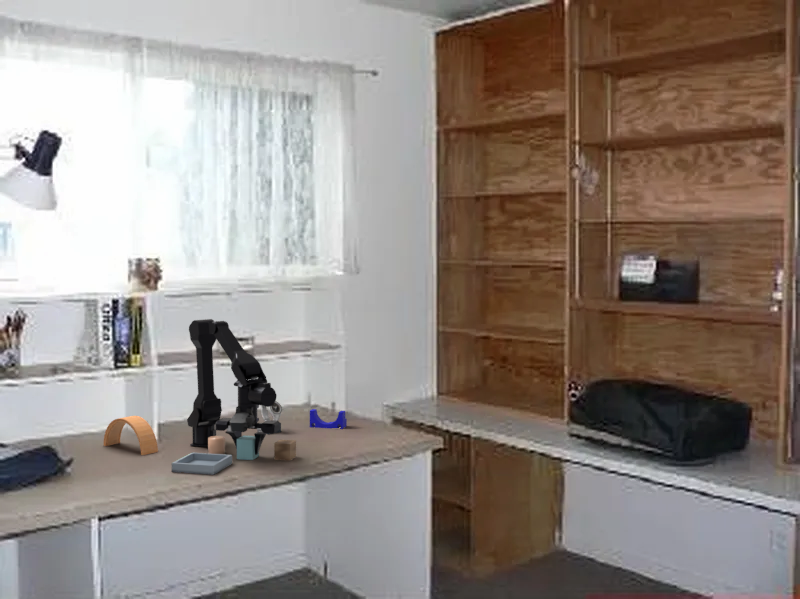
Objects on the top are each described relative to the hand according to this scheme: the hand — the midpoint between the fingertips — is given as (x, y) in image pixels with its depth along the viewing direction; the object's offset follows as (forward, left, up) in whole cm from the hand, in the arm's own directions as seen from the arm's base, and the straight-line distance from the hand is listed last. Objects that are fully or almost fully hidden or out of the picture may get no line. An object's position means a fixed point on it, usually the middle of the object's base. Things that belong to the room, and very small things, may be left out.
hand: (247, 454), depth 260 cm
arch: (-40, +2, -1) cm, 40 cm away
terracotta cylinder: (-11, +2, -1) cm, 11 cm away
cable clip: (+10, +47, -2) cm, 48 cm away
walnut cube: (+11, +2, -1) cm, 11 cm away
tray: (-8, -14, -1) cm, 16 cm away
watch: (-6, +34, -1) cm, 35 cm away
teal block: (0, 0, -1) cm, 1 cm away
